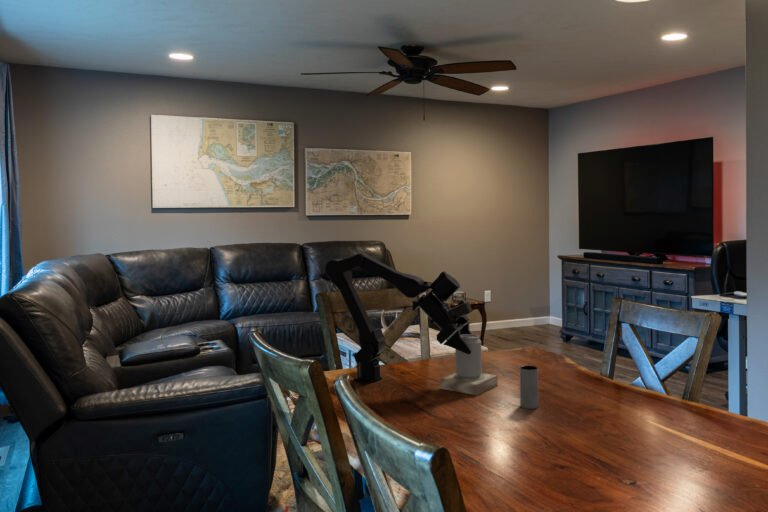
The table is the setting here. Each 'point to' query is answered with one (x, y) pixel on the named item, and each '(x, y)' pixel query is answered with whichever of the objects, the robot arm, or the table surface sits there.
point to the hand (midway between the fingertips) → (473, 350)
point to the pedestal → (469, 383)
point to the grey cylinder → (529, 387)
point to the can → (469, 358)
